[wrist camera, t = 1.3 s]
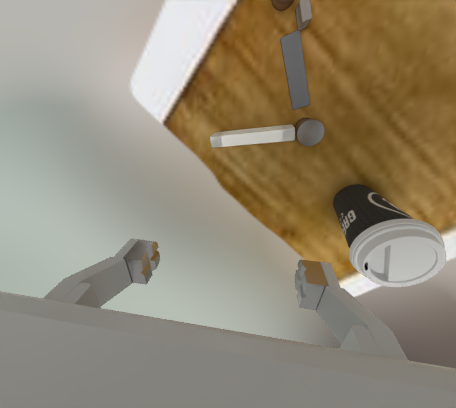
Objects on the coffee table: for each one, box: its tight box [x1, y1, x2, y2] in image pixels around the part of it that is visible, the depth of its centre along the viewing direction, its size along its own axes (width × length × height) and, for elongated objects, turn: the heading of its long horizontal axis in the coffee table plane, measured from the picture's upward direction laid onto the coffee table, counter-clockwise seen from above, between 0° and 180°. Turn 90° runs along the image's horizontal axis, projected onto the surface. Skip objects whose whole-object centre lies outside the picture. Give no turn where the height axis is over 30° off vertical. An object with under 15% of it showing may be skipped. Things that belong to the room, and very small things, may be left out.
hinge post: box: [295, 118, 324, 146], centre depth 29 cm, size 3×3×5 cm
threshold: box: [280, 30, 310, 110], centre depth 27 cm, size 2×9×1 cm, turn 19°
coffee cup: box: [333, 185, 446, 287], centre depth 29 cm, size 10×10×15 cm
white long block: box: [210, 124, 295, 148], centre depth 30 cm, size 12×2×4 cm, turn 97°
